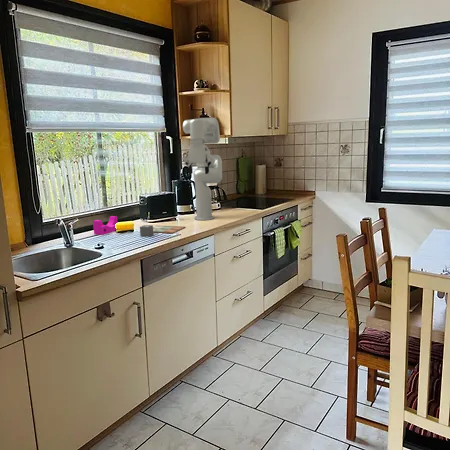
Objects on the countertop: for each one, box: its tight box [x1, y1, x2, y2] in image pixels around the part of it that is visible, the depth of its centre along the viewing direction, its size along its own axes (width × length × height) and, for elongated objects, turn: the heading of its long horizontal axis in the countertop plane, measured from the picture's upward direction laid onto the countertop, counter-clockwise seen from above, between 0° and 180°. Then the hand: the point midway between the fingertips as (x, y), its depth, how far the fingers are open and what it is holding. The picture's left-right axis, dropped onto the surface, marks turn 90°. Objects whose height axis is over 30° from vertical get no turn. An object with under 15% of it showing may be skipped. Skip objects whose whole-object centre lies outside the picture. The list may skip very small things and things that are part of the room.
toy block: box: [92, 215, 118, 236], centre depth 236 cm, size 15×6×8 cm, turn 152°
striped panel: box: [153, 225, 187, 235], centre depth 235 cm, size 17×18×1 cm
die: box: [139, 224, 155, 238], centre depth 223 cm, size 5×5×5 cm
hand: (198, 173), depth 235 cm, fingers open, 9 cm apart
